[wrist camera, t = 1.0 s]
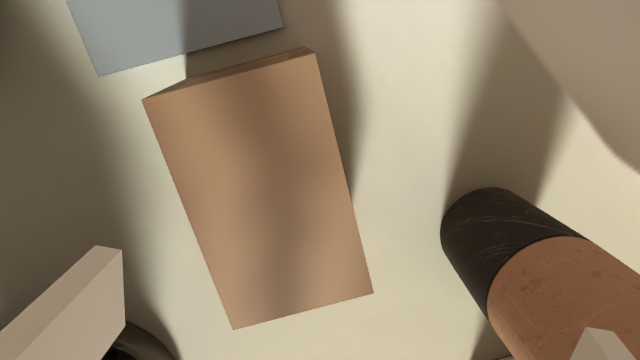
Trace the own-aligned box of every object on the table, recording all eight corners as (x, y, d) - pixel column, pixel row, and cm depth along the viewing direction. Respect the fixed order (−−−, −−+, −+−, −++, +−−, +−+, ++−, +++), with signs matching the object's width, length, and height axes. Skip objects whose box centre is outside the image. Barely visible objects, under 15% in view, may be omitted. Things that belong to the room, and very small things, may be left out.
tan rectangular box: (246, 250, 32) (232, 330, 23) (185, 79, 27) (141, 99, 19) (349, 223, 31) (373, 293, 23) (305, 46, 27) (315, 53, 19)
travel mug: (434, 191, 31) (663, 430, 12) (534, 176, 31) (907, 390, 13) (437, 279, 34) (629, 588, 15) (529, 265, 34) (833, 552, 15)
